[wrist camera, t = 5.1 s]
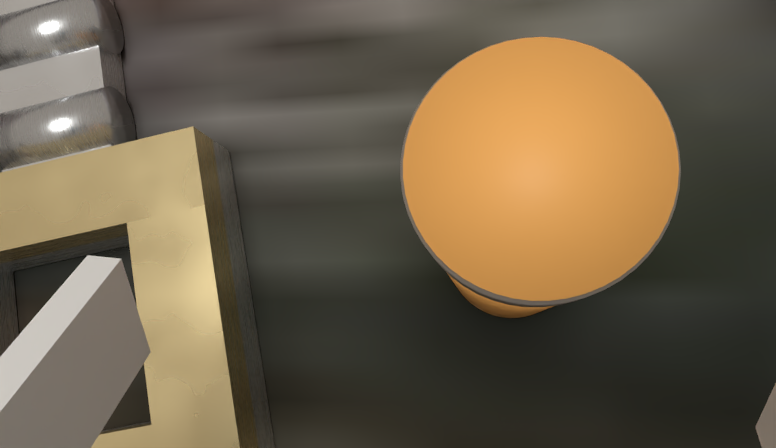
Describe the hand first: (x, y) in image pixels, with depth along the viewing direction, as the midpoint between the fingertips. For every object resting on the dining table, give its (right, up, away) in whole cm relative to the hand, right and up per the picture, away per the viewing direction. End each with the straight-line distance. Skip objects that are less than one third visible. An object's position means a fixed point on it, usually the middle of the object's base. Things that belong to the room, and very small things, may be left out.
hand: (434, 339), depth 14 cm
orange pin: (+3, +1, +8) cm, 9 cm away
